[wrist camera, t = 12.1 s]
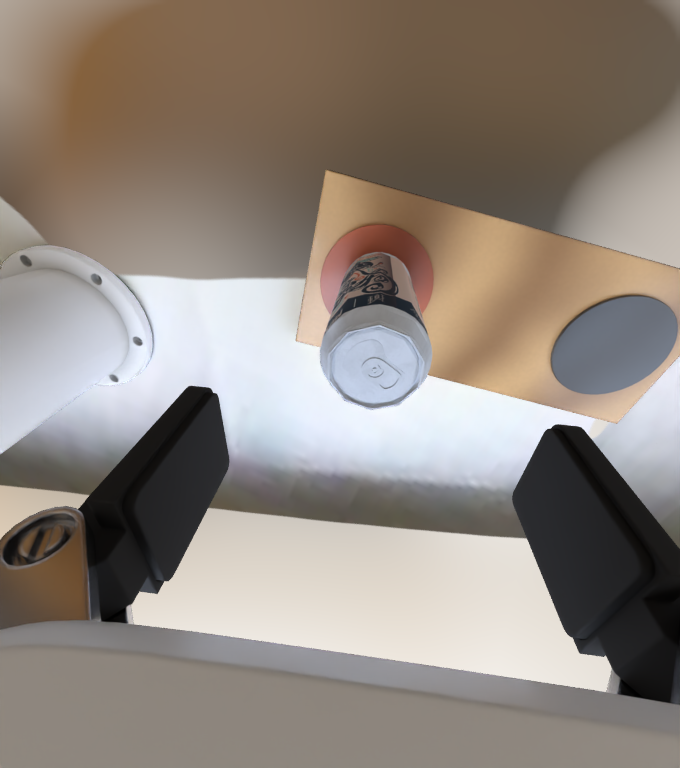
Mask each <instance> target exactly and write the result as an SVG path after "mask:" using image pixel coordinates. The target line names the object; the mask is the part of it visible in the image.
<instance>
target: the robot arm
mask: <svg viewBox="0 0 680 768" xmlns="http://www.w3.org/2000/svg"><path fill="white" fill-rule="evenodd" d="M152 349H153V340H152V333H151V329H150V324H149V322H148V319H147V317H146V315H145V313H144V310H143V309H142V307H141V305H140V304H139V302H138V301H137V299H136V297H135V296H134V295H133V294H132V292H131V291H130V290H129V289H128V288H127V286H126V285H125V284H124V283H123V282H122V281H121V280H120V279H119V278H118V277H117V276H115V275H114V274H113V273H112V272H111V271H110V270H108V269H107V268H106V267H104V266H103V265H101V264H100V263H98V262H97V261H95V260H93V259H91V258H89V257H88V256H86V255H84V254H82V253H80V252H77V251H74V250H71V249H68V248H64V247H59V246H53V245H45V246H35V247H30V248H26V249H22V250H20V251H17V252H15V253H13V254H11V255H10V256H9V257H8V258H7V259H6V260H5V261H4V263H3V265H2V267H1V269H0V454H1V453H3V452H4V451H5V450H7V449H8V448H10V447H11V446H12V445H14V444H15V443H16V442H18V441H19V440H20V439H22V438H23V437H24V436H26V435H27V434H29V433H30V432H31V431H33V430H34V429H35V428H37V427H38V426H39V425H41V424H42V423H43V422H45V421H46V420H47V419H49V418H50V417H52V416H53V415H54V414H56V413H57V412H58V411H60V410H61V409H62V408H64V407H65V406H66V405H68V404H69V403H71V402H72V401H73V400H75V399H76V398H77V397H79V396H80V395H81V394H83V393H84V392H85V391H87V390H88V389H89V388H91V387H92V386H94V385H99V386H114V385H120V384H124V383H126V382H128V381H130V380H132V379H133V378H135V377H136V376H137V375H139V374H140V373H141V372H142V371H143V370H144V369H145V368H146V366H147V364H148V362H149V360H150V358H151V354H152ZM228 467H229V455H228V449H227V443H226V438H225V432H224V426H223V421H222V415H221V409H220V404H219V398H218V395H217V394H216V393H213V391H212V390H211V388H207V387H197V386H189V387H187V388H186V389H185V390H184V392H183V393H182V394H181V395H180V396H179V397H178V398H177V399H176V400H175V402H174V403H173V404H172V405H171V406H170V407H169V408H168V409H167V410H166V411H165V413H164V414H163V415H162V416H161V417H160V418H159V419H158V420H157V421H156V423H155V424H154V425H153V426H152V427H151V428H150V429H149V430H148V431H147V433H146V434H145V435H144V436H143V437H142V438H141V439H140V440H139V441H138V443H137V444H136V445H135V446H134V447H133V448H132V449H131V450H130V451H129V453H128V454H127V455H126V456H125V457H124V458H123V459H122V460H121V461H120V462H119V464H118V465H117V466H116V467H115V468H114V469H113V470H112V471H111V472H110V474H109V475H108V476H107V477H106V478H105V479H104V480H103V481H102V482H101V484H100V485H99V486H98V487H97V488H96V489H95V490H94V491H93V492H92V494H91V495H90V496H89V497H88V498H87V499H86V501H85V502H84V503H83V504H82V506H81V507H80V508H79V509H76V508H72V507H68V506H64V507H54V508H50V509H47V510H43V511H40V512H38V513H36V514H34V515H32V516H29V517H28V518H26V519H24V520H23V521H21V522H20V523H18V524H16V525H15V526H14V527H13V528H12V529H11V530H9V531H8V532H7V533H6V534H5V535H4V536H3V537H2V539H1V540H0V768H680V549H679V548H678V547H677V545H676V544H675V543H674V542H673V540H672V539H671V538H670V537H669V535H668V534H667V533H666V532H665V530H664V529H663V528H662V527H661V525H660V524H659V523H658V522H657V520H656V519H655V518H654V517H653V515H652V514H651V513H650V512H649V510H648V509H647V508H646V507H645V505H644V504H643V503H642V502H641V500H640V499H639V498H638V497H637V495H636V494H635V493H634V492H633V490H632V489H631V488H630V487H629V485H628V484H627V483H626V482H625V480H624V479H623V478H622V477H621V476H620V474H619V473H618V472H617V471H616V469H615V468H614V467H613V466H612V464H611V463H610V462H609V461H608V459H607V458H606V457H605V456H604V454H603V453H602V452H601V451H600V449H599V448H598V447H597V446H596V444H595V443H594V442H593V441H592V439H591V438H590V437H589V436H588V434H587V433H586V432H585V431H584V430H583V429H582V428H581V427H578V426H568V425H559V424H557V425H554V426H553V427H552V428H551V429H547V430H546V431H545V432H544V434H543V436H542V438H541V440H540V442H539V444H538V446H537V448H536V449H535V451H534V453H533V455H532V457H531V459H530V461H529V463H528V465H527V467H526V469H525V471H524V473H523V475H522V476H521V478H520V480H519V482H518V484H517V486H516V488H515V490H514V492H513V496H512V500H513V505H514V508H515V510H516V512H517V515H518V517H519V520H520V522H521V525H522V527H523V530H524V532H525V535H526V537H527V540H528V542H529V544H530V547H531V549H532V552H533V554H534V557H535V559H536V562H537V564H538V567H539V569H540V571H541V574H542V576H543V579H544V581H545V584H546V586H547V588H548V591H549V594H550V596H551V599H552V601H553V603H554V606H555V608H556V611H557V613H558V616H559V618H560V621H561V623H562V625H563V627H564V630H565V631H566V633H567V634H568V635H569V636H570V637H573V639H574V642H575V644H576V646H577V649H578V651H579V653H580V654H587V655H595V656H602V657H604V656H605V655H606V656H607V658H608V660H609V663H610V665H611V667H612V671H611V675H610V679H609V683H608V687H607V691H606V692H600V691H595V690H588V689H582V688H575V687H568V686H562V685H555V684H549V683H541V682H536V681H529V680H522V679H516V678H509V677H502V676H496V675H489V674H483V673H476V672H470V671H463V670H456V669H449V668H442V667H436V666H429V665H422V664H415V663H408V662H401V661H395V660H388V659H381V658H374V657H367V656H360V655H354V654H347V653H340V652H333V651H326V650H319V649H312V648H305V647H298V646H290V645H283V644H277V643H270V642H262V641H256V640H249V639H242V638H234V637H227V636H220V635H213V634H206V633H199V632H192V631H183V630H175V629H167V628H159V627H150V626H142V625H134V623H133V616H132V609H131V604H132V603H133V601H134V600H135V598H136V596H137V594H138V593H139V591H140V592H147V593H155V594H158V592H159V590H160V588H161V586H162V585H163V583H164V581H169V580H170V579H171V578H172V577H173V575H174V573H175V571H176V569H177V568H178V566H179V564H180V562H181V560H182V558H183V556H184V554H185V552H186V550H187V548H188V546H189V544H190V542H191V540H192V538H193V536H194V534H195V532H196V530H197V529H198V526H199V524H200V523H201V521H202V519H203V517H204V515H205V513H206V511H207V509H208V507H209V505H210V503H211V501H212V499H213V497H214V495H215V493H216V492H217V490H218V488H219V486H220V484H221V482H222V480H223V478H224V476H225V474H226V472H227V470H228Z"/></svg>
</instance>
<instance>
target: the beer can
mask: <svg viewBox="0 0 680 768" xmlns="http://www.w3.org/2000/svg"><path fill="white" fill-rule="evenodd" d="M431 361H432V346H431V343H430V339H429V336H428V333H427V330H426V327H425V323H424V320H423V317H422V313H421V310H420V307H419V304H418V300H417V297H416V294H415V291H414V287H413V284H412V281H411V278H410V274H409V272H408V270H407V268H406V266H405V265H404V264H403V263H402V262H401V261H400V260H399V259H398V258H396V257H395V256H392V255H390V254H387V253H383V252H374V253H369V254H365V255H363V256H361V257H360V258H358V259H356V260H355V261H354V262H353V263H352V264H351V265H350V267H349V268H348V270H347V272H346V273H345V275H344V278H343V281H342V284H341V287H340V290H339V293H338V296H337V298H336V301H335V304H334V307H333V310H332V313H331V316H330V319H329V322H328V325H327V328H326V330H325V333H324V336H323V339H322V344H321V348H320V363H321V366H322V370H323V373H324V375H325V377H326V378H327V380H328V381H329V383H330V384H331V386H332V387H333V388H334V389H335V390H336V391H337V392H338V393H339V394H340V396H341V397H342V398H343V400H344V401H347V402H350V403H352V404H355V405H358V406H361V407H364V408H366V409H369V410H373V409H379V408H385V407H391V406H397V405H399V404H401V403H402V402H403V401H404V400H405V399H406V398H408V397H409V396H410V395H411V394H412V393H413V392H415V391H416V390H417V389H418V388H419V386H420V385H421V384H422V383H423V382H424V380H425V378H426V377H427V375H428V373H429V370H430V367H431Z"/></svg>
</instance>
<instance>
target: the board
mask: <svg viewBox="0 0 680 768" xmlns="http://www.w3.org/2000/svg"><path fill="white" fill-rule="evenodd" d="M374 252H383V253H387V254H390V255H392V256H395V257H396V258H398V259H399V260H400V261H401V262H402V263H403V264H404V265H405V266H406V268H407V270H408V272H409V274H410V278H411V281H412V284H413V287H414V291H415V294H416V297H417V300H418V304H419V307H420V310H421V313H422V317H423V320H424V323H425V327H426V330H427V333H428V336H429V339H430V343H431V346H432V361H431V367H430V370H429V373H428V375H430V376H434V377H438V378H442V379H445V380H449V381H453V382H457V383H461V384H465V385H469V386H473V387H476V388H480V389H484V390H488V391H492V392H496V393H500V394H504V395H507V396H511V397H515V398H519V399H523V400H527V401H531V402H535V403H538V404H542V405H546V406H550V407H554V408H558V409H562V410H566V411H570V412H573V413H577V414H581V415H585V416H589V417H593V418H597V419H601V420H605V421H608V422H612V423H616V424H617V423H618V422H619V421H620V420H621V419H622V418H623V417H624V415H625V414H626V413H627V412H628V411H629V410H630V409H631V408H632V407H633V406H634V405H635V404H636V402H637V401H638V400H639V399H640V398H641V397H642V396H643V395H644V394H645V393H646V392H647V391H648V389H649V388H650V387H651V386H652V385H653V384H654V383H655V382H656V381H657V380H658V379H659V378H660V376H661V375H662V374H663V373H664V372H665V371H666V370H667V369H668V368H669V367H670V366H671V365H672V363H673V362H674V361H675V360H676V359H677V358H678V357H679V356H680V268H676V267H673V266H669V265H666V264H662V263H659V262H655V261H651V260H648V259H644V258H641V257H637V256H633V255H630V254H626V253H623V252H619V251H616V250H612V249H609V248H605V247H602V246H598V245H594V244H591V243H587V242H584V241H580V240H576V239H573V238H570V237H566V236H562V235H559V234H555V233H552V232H548V231H545V230H541V229H537V228H534V227H531V226H527V225H523V224H520V223H516V222H512V221H509V220H506V219H502V218H498V217H494V216H491V215H488V214H484V213H480V212H477V211H473V210H470V209H467V208H463V207H459V206H456V205H452V204H449V203H445V202H441V201H438V200H434V199H431V198H427V197H424V196H420V195H417V194H413V193H410V192H406V191H402V190H399V189H395V188H392V187H388V186H385V185H381V184H378V183H374V182H370V181H367V180H363V179H360V178H356V177H352V176H349V175H346V174H342V173H338V172H334V171H331V170H326V171H325V177H324V182H323V187H322V194H321V199H320V205H319V210H318V216H317V222H316V227H315V233H314V239H313V244H312V250H311V256H310V261H309V267H308V273H307V278H306V284H305V290H304V295H303V301H302V307H301V312H300V318H299V324H298V329H297V335H296V341H298V342H302V343H306V344H310V345H313V346H317V347H321V344H322V339H323V336H324V333H325V330H326V328H327V325H328V322H329V319H330V316H331V313H332V310H333V307H334V304H335V301H336V298H337V296H338V293H339V290H340V287H341V284H342V281H343V278H344V275H345V273H346V272H347V270H348V268H349V267H350V265H351V264H352V263H353V262H354V261H355V260H356V259H358V258H360V257H361V256H363V255H365V254H369V253H374Z"/></svg>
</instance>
